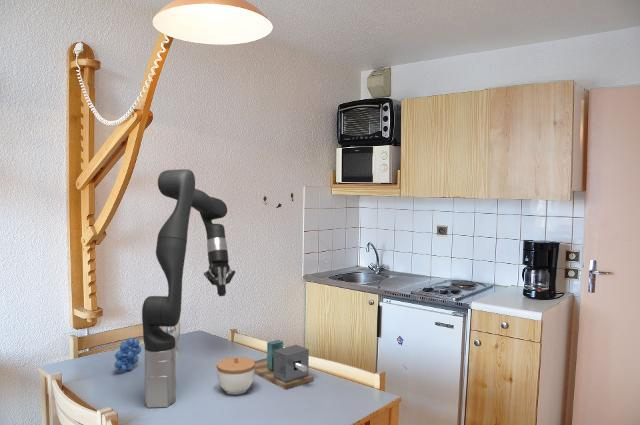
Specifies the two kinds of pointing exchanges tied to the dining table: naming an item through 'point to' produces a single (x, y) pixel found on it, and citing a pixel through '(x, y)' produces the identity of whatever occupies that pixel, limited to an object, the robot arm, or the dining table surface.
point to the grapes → (127, 355)
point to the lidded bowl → (235, 374)
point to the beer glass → (174, 333)
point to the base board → (269, 375)
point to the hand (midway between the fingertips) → (222, 295)
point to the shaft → (270, 355)
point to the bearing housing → (290, 363)
